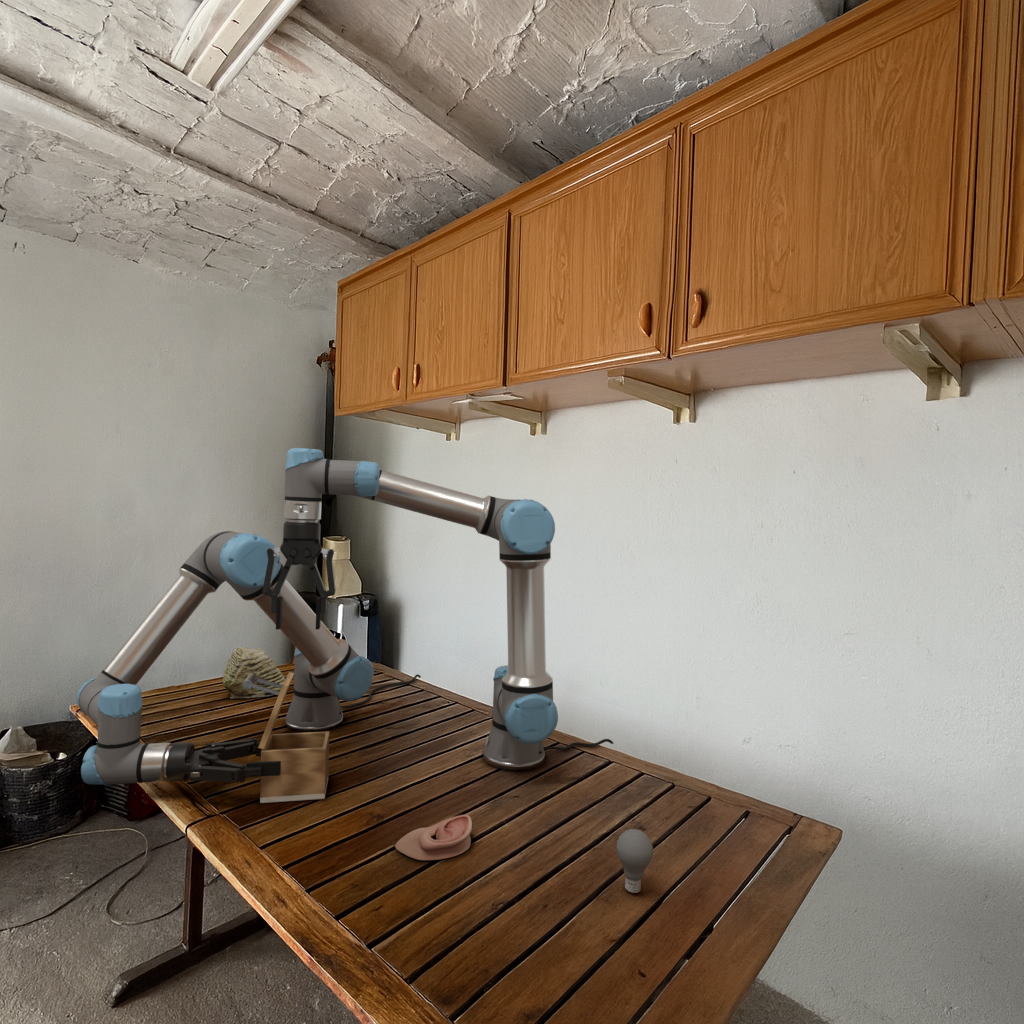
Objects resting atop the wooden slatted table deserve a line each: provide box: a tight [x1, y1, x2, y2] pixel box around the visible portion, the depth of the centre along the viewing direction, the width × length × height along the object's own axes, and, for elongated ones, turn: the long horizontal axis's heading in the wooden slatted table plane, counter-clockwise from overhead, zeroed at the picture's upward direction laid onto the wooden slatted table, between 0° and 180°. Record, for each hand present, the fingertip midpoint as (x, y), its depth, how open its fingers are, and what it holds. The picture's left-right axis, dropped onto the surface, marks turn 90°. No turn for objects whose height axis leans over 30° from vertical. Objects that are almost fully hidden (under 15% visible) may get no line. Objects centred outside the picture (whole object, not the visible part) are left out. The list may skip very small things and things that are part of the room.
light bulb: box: [615, 828, 654, 894], centre depth 106 cm, size 6×6×10 cm
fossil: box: [222, 646, 286, 699], centre depth 198 cm, size 9×18×15 cm, turn 132°
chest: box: [259, 731, 330, 804], centre depth 136 cm, size 13×10×11 cm
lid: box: [243, 671, 294, 749], centre depth 134 cm, size 14×10×9 cm
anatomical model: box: [394, 814, 473, 861], centre depth 117 cm, size 13×4×12 cm
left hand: (283, 757), depth 135 cm, fingers closed on chest, 10 cm apart
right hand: (298, 628), depth 135 cm, fingers open, 7 cm apart
